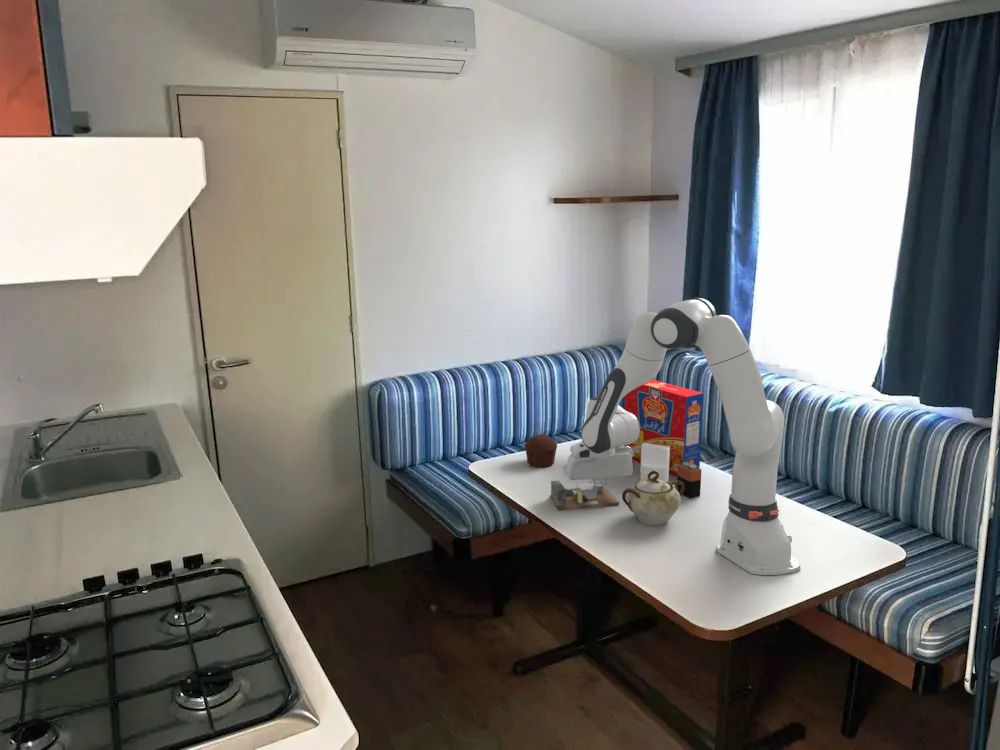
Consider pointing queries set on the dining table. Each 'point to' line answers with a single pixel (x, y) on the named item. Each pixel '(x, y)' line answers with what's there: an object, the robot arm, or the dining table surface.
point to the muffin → (540, 451)
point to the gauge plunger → (586, 492)
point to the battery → (689, 479)
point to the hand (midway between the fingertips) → (599, 490)
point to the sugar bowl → (653, 499)
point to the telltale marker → (579, 497)
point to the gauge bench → (567, 502)
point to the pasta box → (668, 421)
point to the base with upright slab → (654, 461)
